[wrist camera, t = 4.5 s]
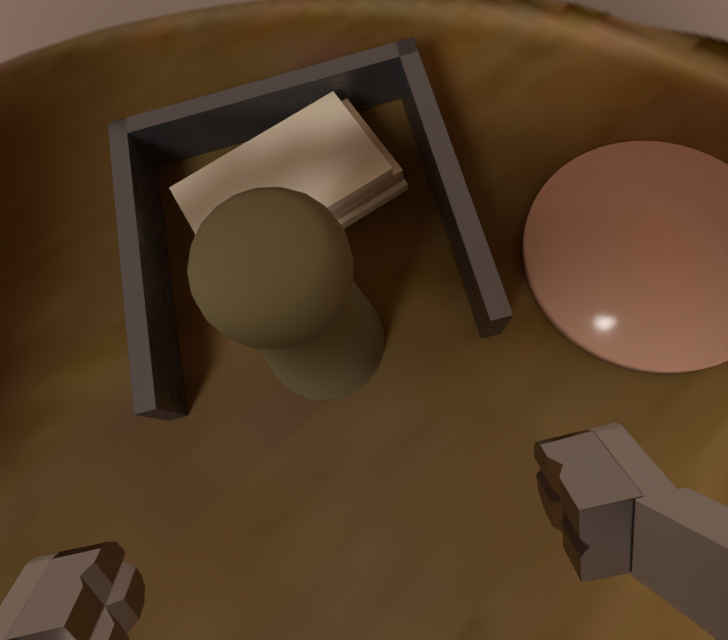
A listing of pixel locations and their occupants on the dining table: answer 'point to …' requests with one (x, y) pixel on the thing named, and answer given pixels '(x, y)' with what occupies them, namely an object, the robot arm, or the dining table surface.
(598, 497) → the robot arm
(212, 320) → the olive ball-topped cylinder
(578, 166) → the pink round disc
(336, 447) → the dining table surface
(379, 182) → the offcut stack
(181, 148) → the grey u-shaped frame
